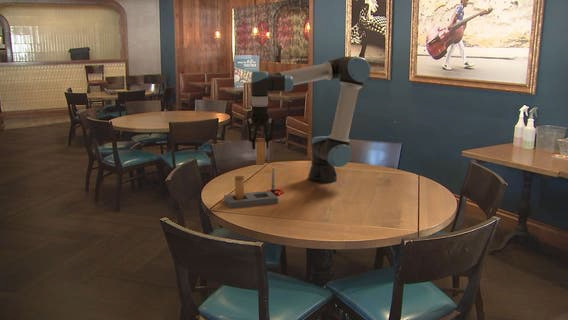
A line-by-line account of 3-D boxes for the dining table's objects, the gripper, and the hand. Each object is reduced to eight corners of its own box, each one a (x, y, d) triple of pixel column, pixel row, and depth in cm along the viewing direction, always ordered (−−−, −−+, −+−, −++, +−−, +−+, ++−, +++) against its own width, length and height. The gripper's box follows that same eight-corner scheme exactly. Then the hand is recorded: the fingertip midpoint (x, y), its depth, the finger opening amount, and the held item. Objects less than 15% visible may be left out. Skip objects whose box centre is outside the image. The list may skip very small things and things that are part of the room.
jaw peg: (264, 163, 231) (264, 137, 228) (265, 164, 227) (264, 139, 225) (256, 163, 231) (255, 138, 228) (256, 165, 227) (256, 139, 224)
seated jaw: (243, 201, 222) (242, 175, 219) (245, 203, 218) (244, 177, 215) (234, 202, 220) (233, 176, 218) (236, 204, 217) (235, 178, 214)
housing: (270, 195, 230) (270, 190, 229) (278, 203, 219) (278, 197, 218) (224, 200, 223) (223, 195, 222) (229, 208, 212) (229, 202, 211)
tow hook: (269, 190, 240) (263, 194, 232) (270, 164, 238) (264, 168, 229) (286, 191, 238) (280, 196, 229) (286, 165, 236) (281, 169, 227)
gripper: (275, 104, 229) (275, 153, 234) (240, 105, 224) (240, 155, 229) (279, 105, 222) (279, 156, 227) (243, 107, 217) (244, 158, 222)
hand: (260, 155), depth 228 cm, fingers closed on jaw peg, 4 cm apart
